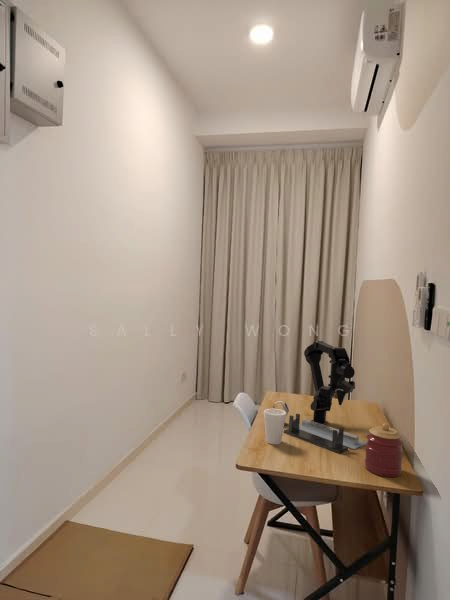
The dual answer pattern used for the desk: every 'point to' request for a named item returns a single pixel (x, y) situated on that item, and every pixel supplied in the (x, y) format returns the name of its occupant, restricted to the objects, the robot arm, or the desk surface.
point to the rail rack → (333, 445)
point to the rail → (329, 431)
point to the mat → (331, 438)
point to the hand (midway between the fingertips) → (334, 406)
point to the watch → (283, 406)
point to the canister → (384, 451)
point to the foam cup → (274, 425)
